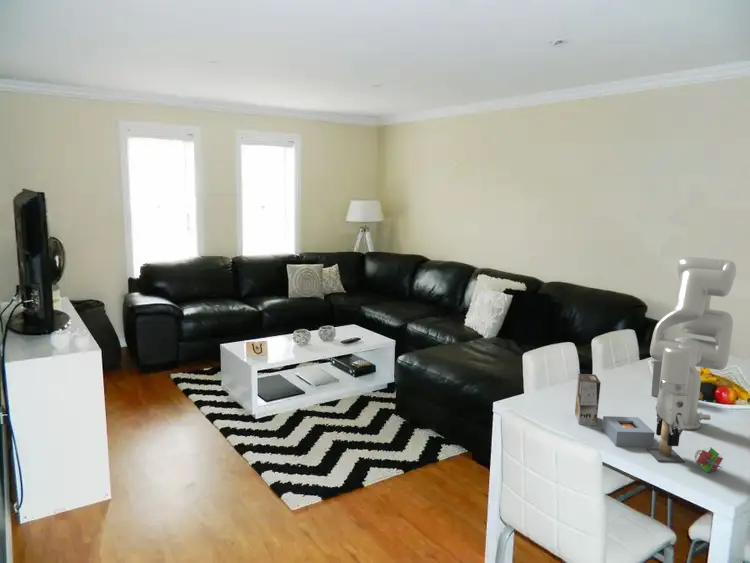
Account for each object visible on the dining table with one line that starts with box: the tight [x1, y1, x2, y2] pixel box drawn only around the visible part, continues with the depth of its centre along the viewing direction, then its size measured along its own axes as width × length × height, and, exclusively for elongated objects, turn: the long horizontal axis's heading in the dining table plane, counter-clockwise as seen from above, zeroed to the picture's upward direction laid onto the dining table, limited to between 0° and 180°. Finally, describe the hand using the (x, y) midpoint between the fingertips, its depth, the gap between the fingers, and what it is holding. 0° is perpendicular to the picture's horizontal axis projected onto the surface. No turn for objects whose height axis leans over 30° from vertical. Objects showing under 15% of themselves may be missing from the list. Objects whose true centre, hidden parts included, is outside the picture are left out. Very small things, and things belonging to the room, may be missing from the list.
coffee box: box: [574, 373, 601, 427], centre depth 197 cm, size 9×6×16 cm
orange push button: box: [622, 424, 634, 428], centre depth 184 cm, size 4×4×4 cm
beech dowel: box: [658, 420, 675, 457], centre depth 171 cm, size 3×3×11 cm
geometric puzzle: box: [694, 446, 724, 474], centre depth 164 cm, size 7×7×8 cm
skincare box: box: [650, 359, 662, 398], centre depth 221 cm, size 8×7×16 cm
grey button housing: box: [601, 415, 655, 448], centre depth 184 cm, size 12×12×5 cm
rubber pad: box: [645, 447, 686, 464], centre depth 172 cm, size 8×8×1 cm
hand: (666, 439), depth 171 cm, fingers open, 6 cm apart
